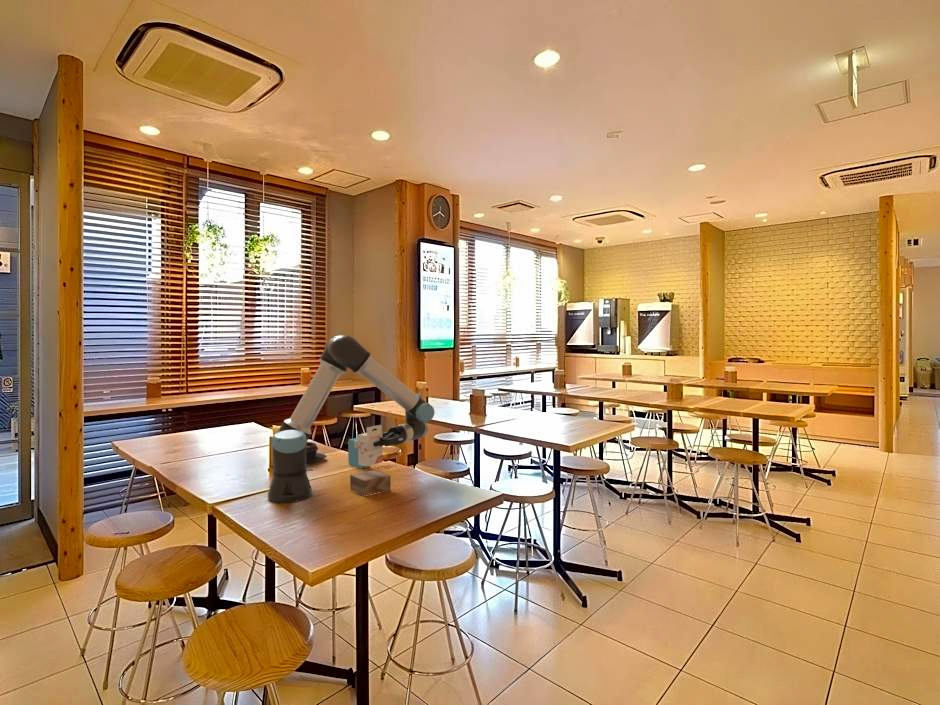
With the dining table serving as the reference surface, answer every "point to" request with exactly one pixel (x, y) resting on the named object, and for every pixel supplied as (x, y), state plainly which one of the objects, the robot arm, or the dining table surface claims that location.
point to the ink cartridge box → (373, 454)
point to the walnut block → (370, 482)
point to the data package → (353, 454)
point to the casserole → (313, 453)
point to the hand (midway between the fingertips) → (360, 445)
